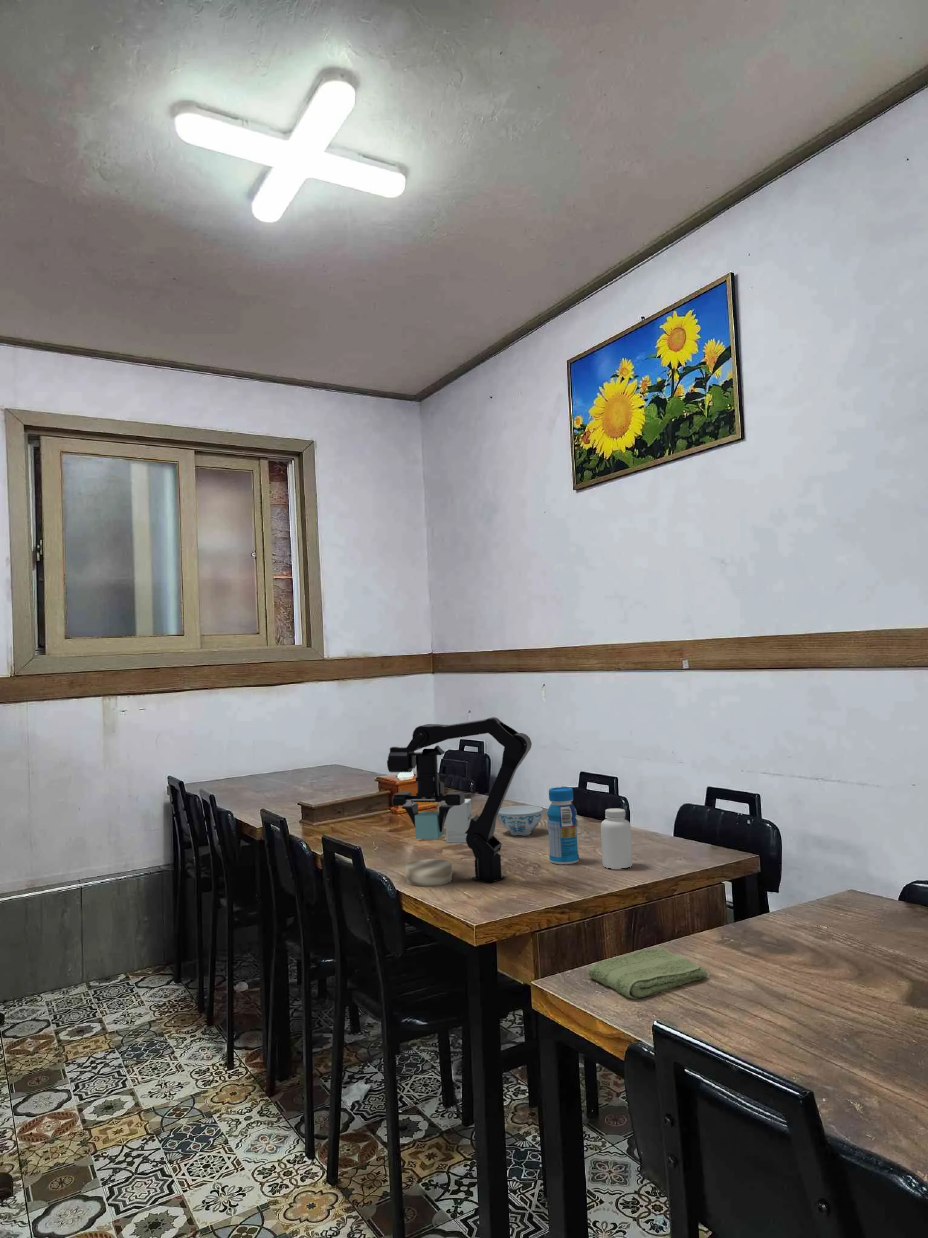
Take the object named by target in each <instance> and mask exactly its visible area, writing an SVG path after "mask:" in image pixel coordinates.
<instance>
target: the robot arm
mask: <svg viewBox="0 0 928 1238" xmlns="http://www.w3.org/2000/svg"><path fill="white" fill-rule="evenodd" d="M485 734H489V735H490V736H492V738H493V739H495V740H496V742H498V743H499V744H500V745H501V746H503V752H502V758H501V766H500V768H499V771H498V772H497V775H496V777H495V779H494V780H495V781H494V783H493V785H492V787H491V789H490V791H489V794H488V797H487V800H486V801H485V804H484V807H483V809H482V811H481V813H480V815H478V814H476V815H474V816H472V819H471V821H470V824H469V828H468V830H467V831H466V832H465V834H467V836H466V842H467V843H466V845H467V847H468V848H469V849H470V850H472V854H473V855H474V872H475V873H474V875H475V876H472V877H471V880H473V881H477V882H482V883H487V884H490V883H493V882H498V881H500V880H503V879H506V875H503V874H502V860H501V854H499V852H501V849H502V846H503V845H502V844H503V843H502V842H501V841H500V840H499V839H498V838H497V837H496V836H495V835H494V834H495V829H496V823H497V822H496V821H497V818H498V812H499V810H500V808H502V806H503V802H504V801H505V798H506V795H507V793H508V791H509V788H510V786H511V783H512V781H513V779H514V777H515V775H516V773H517V772H516V771H517V770H518V768H519V766H520V765H521V764H522V763H523V761H524V760H525V758H526V757H527V755H528V753H529V752H530V751H531V750H532V743H533V742H532V740H531V738H530V737H529V735H527V733H524V732H518V731H517V730H515V729H514V728H512V727H511V726H509V725H507V724H505V723H504V722H502V720H500V719H499V717H495V716H492V717H488V718H484V719H478V720H472V721H467V722H466V721H465V722H459V723H452V724H438V723H437V724H435V723H427V724H423V725H419V726H417V727H415V729H414V730H413V732H412V739H411V740H410V741H409V743H408V744H407V746H405V747H403V746H402V747H399V746H392V747H390V748H389V753H388V755H387V760H386V764H387V767H386V768H387V770H388V772H389V773H392V774H393V773H412V771H413V769H416V774H415V775H416V777H415V782H416V793H415V794H412V792H411V791H399V792H396V793H394V794H393V795H392V796H391V806H393V807H394V806H395V807H397V806H402V807H401V808H402V810H405V811H406V813H407V814H408V817H409V818H410V821H411V822H412V825H413V827H414V828H415V815H416V814H418V813H419V803H441V805H440V806H438V811H439V828H440V832H442V831H443V827H445V825H446V816H447V814H448V811H449V809H450V808H452V807H453V806H458V805H461V804H463V803H464V802H465V799H466V796H465V793H464V792H463V791H449V792H446V794H444V793H445V783H444V782H443V781H442V780H441V778H440V774H439V769H438V767H439V765H438V764H439V763H438V756H442V755H444V754H446V751H445V750H444V749H442V748H441V747H440V746H439V745H435V744H438V743H441V742H444V741H448V740H453V739H457V738H464V737H473V736H478V735H485ZM433 745H435V747H434V748H427V747H431V746H433ZM423 748H424V749H423ZM422 749H423V750H422ZM418 750H422V751H421V752H415V751H418Z"/></svg>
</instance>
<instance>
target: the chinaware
mask: <svg viewBox="0 0 928 1238" xmlns="http://www.w3.org/2000/svg"><path fill="white" fill-rule="evenodd" d="M543 810H544V809H543V808H542V807H540V806H533V805H512V806H503V807H501V808H500V810H499V812H498V815H497V818H498V820H499V822H500V823H501V825H502V826H503V827H504V828H505V829H506V830H507V831H509V832H510V835H512V836H516V835H523V836H529V835H530V834H532V831H534V829H535V828H537V826H538V825H539V823H540V822H541V820H542V816H543V812H544V811H543Z"/></svg>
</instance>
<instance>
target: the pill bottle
mask: <svg viewBox="0 0 928 1238" xmlns="http://www.w3.org/2000/svg"><path fill="white" fill-rule="evenodd" d="M604 811H605V813H604V814H605V819H604V820H602V822H601V823H600V836H601V837H600V838H601V839H600V841H601V860H602V861H601V862H602V866H603V868H605V867H606V868H605V869H608V868H611V869H610V870H622V869H621V868H626V867H630V868H632V867H633V850H632V849H633V847H632V828H631V827H632V825H631V823H630V821H628V819H626V810H625V809H623V808H607V809H605V810H604ZM631 866H632V867H631Z"/></svg>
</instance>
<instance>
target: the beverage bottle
mask: <svg viewBox="0 0 928 1238" xmlns="http://www.w3.org/2000/svg"><path fill="white" fill-rule="evenodd" d="M548 800H549V802H550V804H549V807H548V809H547V812H546V815H547V817H548V819H547V821H546V825H547V828H548V845H549V847H548V848H549V855H548V857H549V862H550V863H552V864H553V865H554V864H555V865H562V864H565V865H571V864H576V863H578V862H579V860H580V856H579V846H578V845H579V843H578V839H579V838H578V827H579V826H578V825H579V823H578V820H577V815H578V813H577V809H576V807H575V805H574V804H573V801H574V790H573V788H572V787H566V786H565V787H564V786H561V787H560V786H557V787H551V788H549V789H548Z"/></svg>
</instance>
